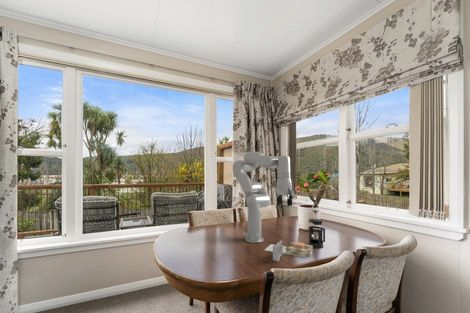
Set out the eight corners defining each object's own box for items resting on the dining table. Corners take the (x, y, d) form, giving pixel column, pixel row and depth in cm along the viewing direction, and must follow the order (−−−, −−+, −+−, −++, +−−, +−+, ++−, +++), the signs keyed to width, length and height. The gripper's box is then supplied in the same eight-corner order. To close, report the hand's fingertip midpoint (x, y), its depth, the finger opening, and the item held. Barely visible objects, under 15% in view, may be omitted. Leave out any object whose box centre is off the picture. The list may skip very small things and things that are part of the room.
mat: (264, 250, 144) (264, 250, 144) (270, 244, 155) (270, 244, 155) (309, 258, 132) (309, 258, 132) (313, 251, 143) (313, 250, 143)
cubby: (286, 253, 139) (286, 247, 139) (290, 247, 148) (290, 242, 148) (309, 257, 133) (309, 250, 133) (312, 251, 142) (312, 245, 142)
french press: (312, 249, 146) (312, 212, 148) (304, 244, 156) (304, 209, 157) (328, 248, 149) (328, 211, 150) (320, 243, 158) (319, 209, 159)
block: (294, 252, 139) (294, 244, 140) (296, 250, 144) (296, 241, 144) (302, 254, 137) (302, 245, 137) (304, 251, 142) (304, 243, 142)
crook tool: (272, 261, 128) (272, 246, 128) (279, 254, 138) (279, 240, 139) (278, 262, 126) (278, 246, 127) (284, 255, 137) (284, 241, 137)
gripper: (270, 176, 150) (271, 203, 148) (287, 176, 134) (288, 207, 133) (280, 176, 153) (281, 203, 151) (298, 176, 137) (299, 206, 136)
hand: (284, 204), depth 142 cm, fingers open, 9 cm apart
